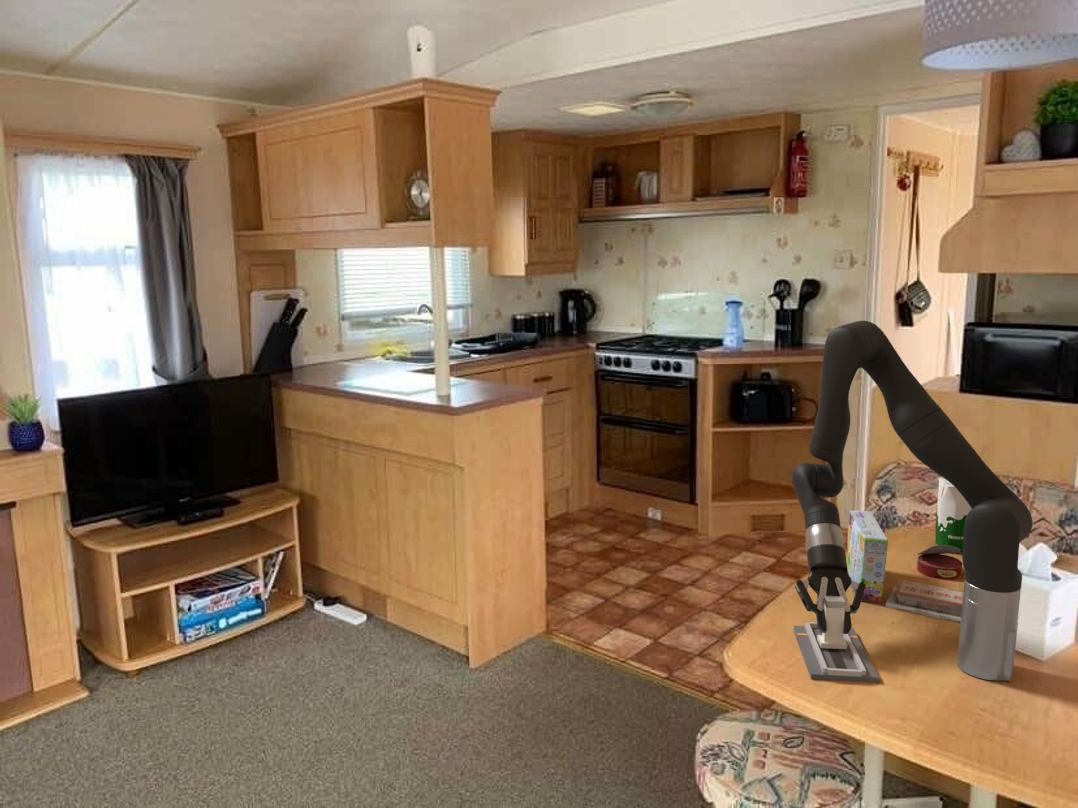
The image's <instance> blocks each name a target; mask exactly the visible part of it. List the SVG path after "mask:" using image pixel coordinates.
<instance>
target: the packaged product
mask: <svg viewBox="0 0 1078 808" xmlns="http://www.w3.org/2000/svg"><path fill="white" fill-rule="evenodd" d="M897 582H898V583H897V585H896V586H894V587H893V589H892V591H891V592H890V594H889V596H888V598H887V600H886V602H885V607H886V608H890V609H896V610H900V611H906V612H910V613H914V614H917V615H918V614H919V615H923V616H928V617H931V618H936V619H939V620H940V619H941V620H946V621H950V622H951V621H952V622H956V623H957V622H958V623H961V613H962V602H963V591H961V590H956V589H951V588H949V587H948V588H947V587H941V586H936V585H931V584H926V583H922V582H916V581H911V580H905V579H899V580H898V581H897Z"/></svg>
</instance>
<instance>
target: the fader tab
mask: <svg viewBox="0 0 1078 808" xmlns="http://www.w3.org/2000/svg"><path fill="white" fill-rule="evenodd" d="M823 611H824V612H825V618H826V625H827V631H826V633H822V635H817V640H818V643H819V645H820V648H830V649H847V643H846V640H845V638H844V636H843V629H844V615H845V600H844V598H843V597H839V596H824V609H823Z"/></svg>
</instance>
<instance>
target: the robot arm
mask: <svg viewBox="0 0 1078 808" xmlns="http://www.w3.org/2000/svg"><path fill="white" fill-rule="evenodd" d="M823 347H824V349H823V356H822V370H821V371H822V372H821V384H820V390H819V391H820V392H819V393H820V394H819V401H818V408H817V413H816V418H815V421H814V425H813V428H812V433H811V436H810V440H809V443H808V451H809V453H810V455H812V456H813V457H814V458H816V459H818V460H820V461H823V462H826V463H827V464H819V463H810V462H802V463H801V462H800V463H798V464H797V465H795V466H794V468H793V470H792V473H791V484H792V487H793V492H794V493H795V495H796V498H797V500H798V503H799V505H800V507H801V510H802V513H803V516H804V517H803V518H804V519H803V520H804V526H805V551H806V558H807V567H808V569H807V570H808V576H807V578H806V579H803V580H801V579H797V580H796V582H795V585H794V588H795V590H796V592H797V595H798V596H799V599H800V601H801V602H802V604H803V606H804V609H805V610H806V611H807V612H812V613H814V614H815V617H816V622H817V627H818V629H819V630H821V633H826V631H827V625H826V618H825V612H824V611H823V609H824V596H839V597H843V598H844V600H845V615H844V629H843V634H848V632H849V631H850V630H851V628H853V626H852V617H851V615H852V614H857V612H858V610H859V609H860V606H861V603H862V601H861V600H862V597H863V593H864V590H865V586H866V585H865V583H863V582H861V583H857V582H854V581H852V579H851V577H850V576H849V574H848V569H847V561H846V555H847V553H846V548H845V540H844V536H843V532H842V527H841V520H840V511H839V509H838V506H837V504H835V503H834V502H831V501H828V499H829V498H835V497H837V496H838V495H839V494H840V493H841V492H842V490H843V489H844V488H843V487H844V473H843V469H844V468H843V465H844V464H843V459H844V450H845V447H846V444H847V439H848V436H849V431H850V427H851V410H850V404H849V401H850V400H849V398H850V397H849V396H850V390H851V386H852V383H853V380H854V378H855V376H856V373H857V372H858V369H862V370H863V371H865V372H866V374H867V375H868V376H869V377H870V378H871V380H872V381H873V382H874V383H875V384H876V386H877V387H878V389H879V390H880V392H881V394H882V397H883V400H884V403H885V407H886V410H887V414H888V418H889V421H890V424H891V426H892V428H893V431H894V432H895V433H896V435H897V436H898V437H899V438H900V440H901V441H902V442H903V444H904V445H905V446H906V447H907V449H908V450H909V451H910V453H912V455H914V456H915V458H916V459H917V460H919V461H920V462H921V463H922V464H924V466H926V467H927V468H929V469H930V470H932V471H933V472H935V473H936V474H938V475H939V476H940V477H941V478H945V479H946V480H947V481H949V482H950V483H951V484H952V485H953V486H954V487H955V488H956V489H957V490H958V491H959V492H960V493H961V495H962V496H963V497H964V499H965V500H966V501H967V503H968V504H969V505H970V507H971V508H972V509H971V510H970V511H969V513H968V515H967V517H966V520H965V526H964V536H963V553H962V567H963V568H964V581H963V591H962V592H963V602H962V613H961V622H960V627H959V637H958V649H957V659H956V660H957V666H958V667H959V669H960V670H961V671H962V672H964V673H966V674H968V675H970V676H972V677H975V678H979V679H982V680H986V681H987V680H988V681H997V682H998V681H1006V682H1012V678H1013V672H1014V665H1015V656H1016V648H1017V647H1016V646H1017V639H1018V638H1017V636H1018V628H1019V627H1018V625H1019V614H1020V613H1019V612H1020V603H1021V591H1022V585H1023V583H1022V582H1023V574H1022V571H1021V570H1020V569H1019V551H1020V544H1021V542H1023V540H1025V539H1026V538H1028V537H1029V535H1030V533H1031V531H1032V530H1033V521H1034V520H1033V518H1032V514H1031V512H1030V510H1029V508H1028V506H1027V505H1026V504H1025V502H1023V500H1022V499H1020V497H1018V495H1017V494H1016V493H1015V492H1013V491H1012V490H1011V488H1009V487H1008V486H1007V484H1005V483H1004V482H1003V481H1002V479H1000V477H998V476H997V475H996V474H995V473H994V472H993V471H992V469H991V468H990V467H989V466H988V465H987V464H986V462H984V460H983V459H982V458H981V456H980V455H979V453H977V451H976V450H975V449H974V447H973V446H972V445H971V444H970V442H969V441H968V440H967V439H966V437H964V435H963V434H962V433H961V431H960V430H959V428H958V427H957V426H956V424H955V423H954V422H953V421H952V420H951V419H950V417H949V416H948V415H947V413H946V412H945V411H944V410H943V409H942V408H941V407H940V405H939V404H938V403H937V402H936V400H934V399H933V398H932V396H931V395H930V394H929V392H928V391H927V390H926V389H925V387H924V386H923V385H922V384H921V382H920V381H919V380H918V379H917V378H916V377H915V376H914V374H913V373H912V371H910V369H909V368H908V367H907V365H906V364H905V363H904V361H903V358H901V356H900V355H899V353H898V352H897V350H896V349H895V347H894V346H893V344H892V343H891V341H890V339H889V338H888V337H887V335H886V334H885V332H884V331H883V330H882V329H881V328H880V326H878V325H877V324H876V323H873V322H871V321H868V320H858V321H854V322H849V323H846V324H842V325H839V326H837V327H835V328H833V330H831V331H830V333H828V335H827V337H826V339H825V341H824V346H823ZM823 498H828V499H827V500H826V499H823ZM809 587H810V588H811V589H812V590H813V592H815V594H816V603H814V601H813V599H812V598H811V594H810V593H809V591H808V590H809ZM850 587H851V589H852V590H851V591H852V593H853V594H854V597H853V600H852V604H849V601H848V596H847V594H846V592H847V591H848V589H849V588H850Z"/></svg>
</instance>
